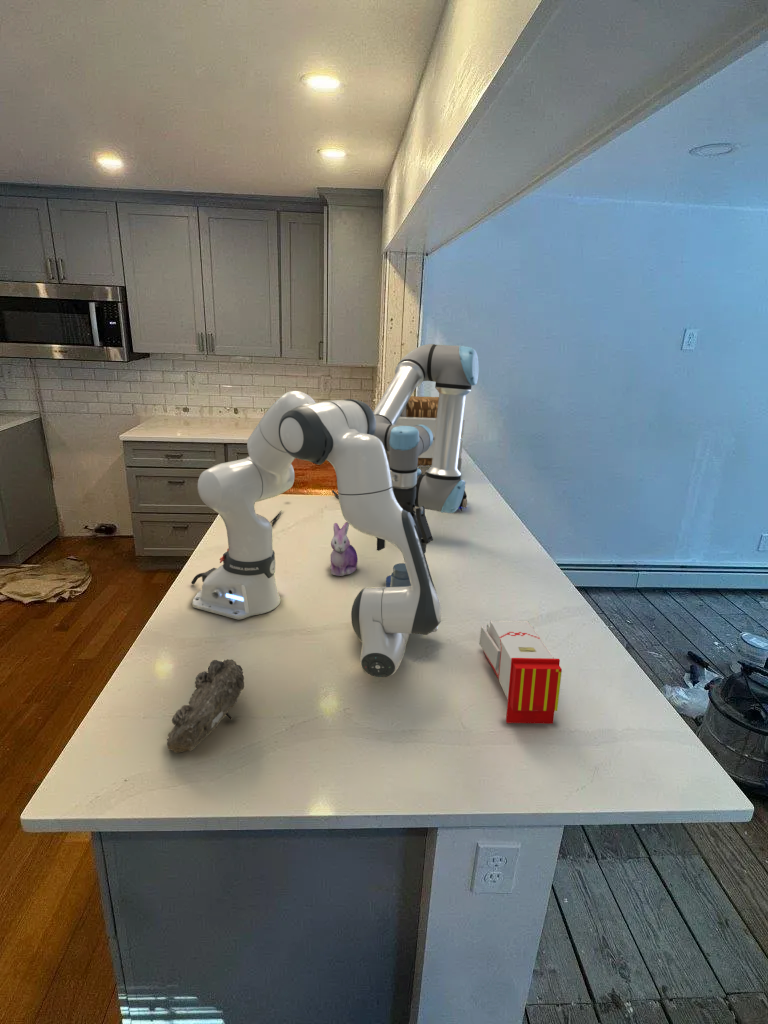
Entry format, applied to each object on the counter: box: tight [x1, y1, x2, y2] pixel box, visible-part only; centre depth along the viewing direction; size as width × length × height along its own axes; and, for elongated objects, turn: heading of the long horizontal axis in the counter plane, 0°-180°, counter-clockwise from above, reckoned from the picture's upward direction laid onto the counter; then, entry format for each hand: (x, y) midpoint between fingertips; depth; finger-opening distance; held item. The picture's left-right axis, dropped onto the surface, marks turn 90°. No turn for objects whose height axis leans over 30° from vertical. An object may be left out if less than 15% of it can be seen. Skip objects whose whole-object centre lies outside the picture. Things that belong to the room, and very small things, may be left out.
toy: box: [478, 620, 563, 725], centre depth 121 cm, size 12×13×30 cm
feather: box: [269, 510, 282, 527], centre depth 212 cm, size 2×28×2 cm
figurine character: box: [457, 489, 468, 512], centre depth 228 cm, size 7×8×15 cm
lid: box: [385, 574, 391, 587], centre depth 162 cm, size 6×6×2 cm
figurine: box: [329, 521, 359, 577], centre depth 168 cm, size 9×10×15 cm
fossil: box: [166, 658, 245, 754], centre depth 106 cm, size 22×10×15 cm
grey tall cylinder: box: [390, 562, 411, 587], centre depth 141 cm, size 6×6×16 cm
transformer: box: [385, 395, 465, 474], centre depth 268 cm, size 34×33×41 cm
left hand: (401, 598), depth 142 cm, fingers closed on grey tall cylinder, 5 cm apart
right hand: (399, 556), depth 160 cm, fingers open, 13 cm apart
